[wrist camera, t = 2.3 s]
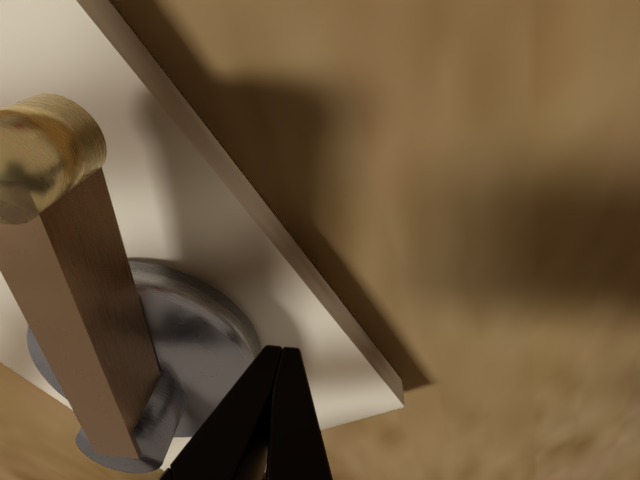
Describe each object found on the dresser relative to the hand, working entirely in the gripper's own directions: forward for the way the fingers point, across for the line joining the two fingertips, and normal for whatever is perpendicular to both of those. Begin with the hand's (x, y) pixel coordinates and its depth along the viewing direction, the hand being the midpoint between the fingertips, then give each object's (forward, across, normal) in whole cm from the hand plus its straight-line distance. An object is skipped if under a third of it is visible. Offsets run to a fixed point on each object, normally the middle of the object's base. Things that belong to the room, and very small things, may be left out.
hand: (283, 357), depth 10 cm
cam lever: (+5, +6, +3) cm, 8 cm away
